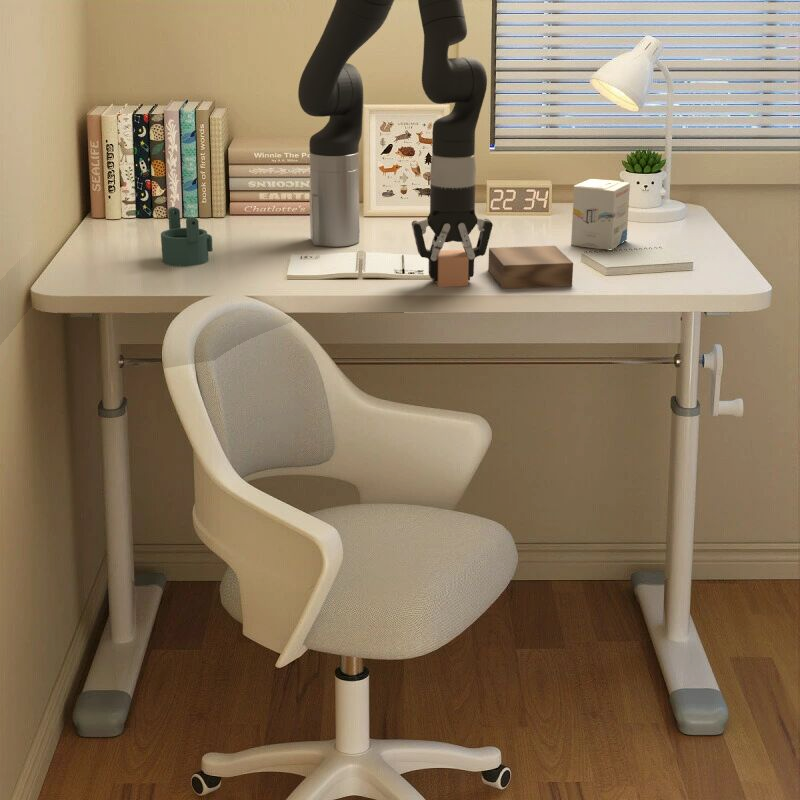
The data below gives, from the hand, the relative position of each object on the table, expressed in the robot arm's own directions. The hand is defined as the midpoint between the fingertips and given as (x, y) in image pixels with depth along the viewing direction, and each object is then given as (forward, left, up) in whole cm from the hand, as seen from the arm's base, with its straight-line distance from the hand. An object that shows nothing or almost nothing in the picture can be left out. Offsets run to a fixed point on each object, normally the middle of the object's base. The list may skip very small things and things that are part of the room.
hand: (451, 279), depth 215 cm
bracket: (-45, +21, -1) cm, 50 cm away
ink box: (+33, +23, -1) cm, 40 cm away
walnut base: (+14, +1, 0) cm, 14 cm away
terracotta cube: (0, 0, 0) cm, 0 cm away
